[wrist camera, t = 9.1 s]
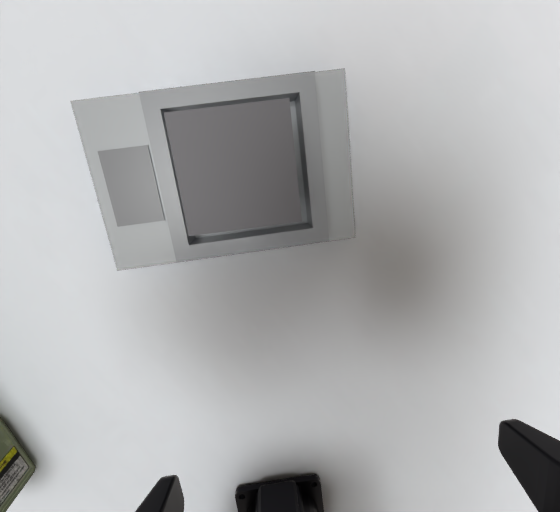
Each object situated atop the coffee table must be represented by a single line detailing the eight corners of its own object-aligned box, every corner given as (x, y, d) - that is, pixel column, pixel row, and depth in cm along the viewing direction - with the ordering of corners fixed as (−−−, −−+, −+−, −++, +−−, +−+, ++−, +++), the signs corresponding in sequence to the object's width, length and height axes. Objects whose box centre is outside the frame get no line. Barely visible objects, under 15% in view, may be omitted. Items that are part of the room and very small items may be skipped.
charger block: (288, 207, 18) (302, 221, 12) (209, 217, 17) (188, 236, 12) (278, 121, 16) (289, 95, 11) (194, 131, 16) (163, 110, 11)
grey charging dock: (350, 234, 19) (365, 244, 17) (124, 265, 19) (102, 280, 16) (339, 74, 17) (355, 55, 14) (81, 105, 16) (46, 91, 14)
